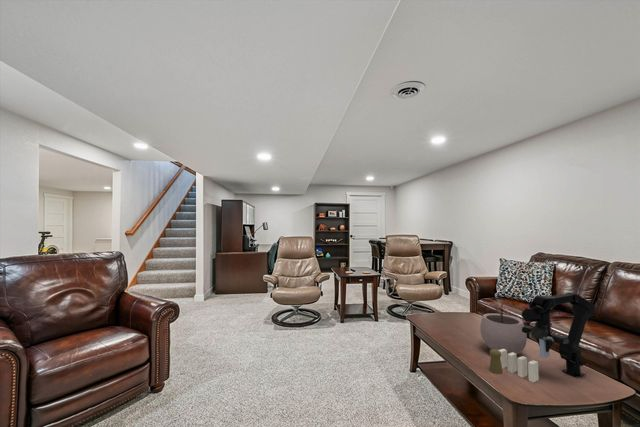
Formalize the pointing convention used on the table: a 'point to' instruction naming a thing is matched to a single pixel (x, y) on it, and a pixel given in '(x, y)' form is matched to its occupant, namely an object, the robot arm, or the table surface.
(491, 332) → the plant pot
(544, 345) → the domino
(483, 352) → the table surface
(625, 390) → the table surface
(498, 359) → the olive green pawn
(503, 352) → the domino
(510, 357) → the domino
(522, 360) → the domino
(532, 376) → the domino
